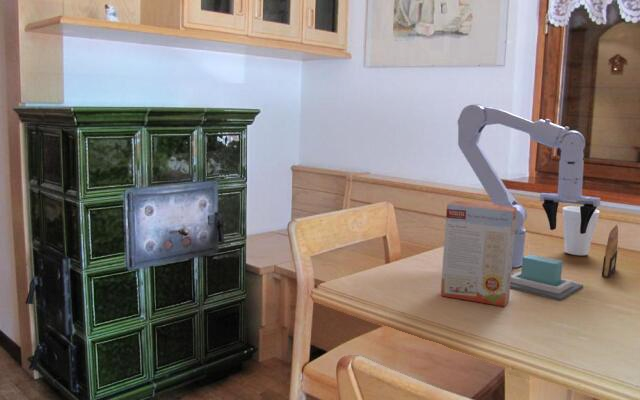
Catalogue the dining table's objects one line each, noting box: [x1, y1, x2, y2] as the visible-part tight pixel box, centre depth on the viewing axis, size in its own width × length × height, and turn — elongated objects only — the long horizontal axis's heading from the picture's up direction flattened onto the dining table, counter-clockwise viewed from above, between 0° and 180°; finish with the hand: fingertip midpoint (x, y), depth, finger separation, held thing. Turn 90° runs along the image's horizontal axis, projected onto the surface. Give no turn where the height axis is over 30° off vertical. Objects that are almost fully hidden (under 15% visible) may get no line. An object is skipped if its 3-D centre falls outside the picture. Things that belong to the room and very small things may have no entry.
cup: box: [561, 205, 600, 256], centre depth 178 cm, size 10×10×13 cm
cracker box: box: [440, 200, 517, 307], centre depth 134 cm, size 14×6×21 cm, turn 64°
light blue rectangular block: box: [520, 253, 564, 287], centre depth 146 cm, size 4×8×6 cm, turn 49°
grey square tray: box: [510, 271, 584, 302], centre depth 147 cm, size 15×14×2 cm
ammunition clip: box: [601, 224, 619, 279], centre depth 160 cm, size 11×2×12 cm, turn 148°
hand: (567, 231), depth 159 cm, fingers open, 7 cm apart
